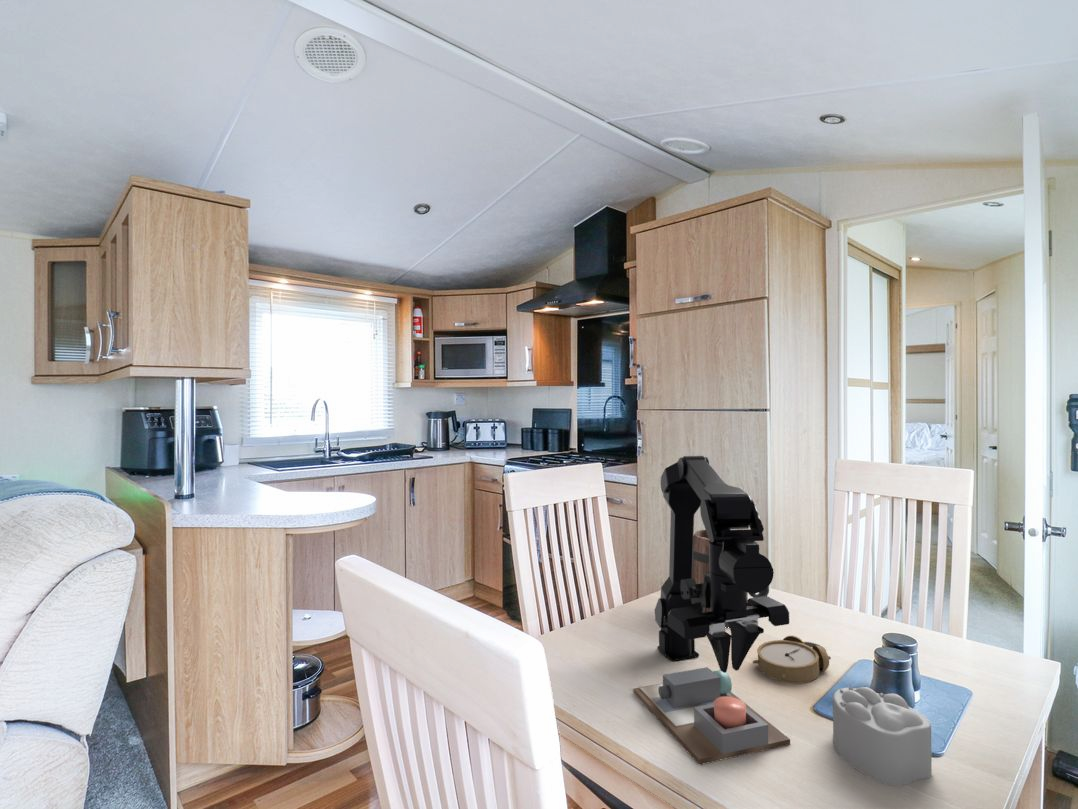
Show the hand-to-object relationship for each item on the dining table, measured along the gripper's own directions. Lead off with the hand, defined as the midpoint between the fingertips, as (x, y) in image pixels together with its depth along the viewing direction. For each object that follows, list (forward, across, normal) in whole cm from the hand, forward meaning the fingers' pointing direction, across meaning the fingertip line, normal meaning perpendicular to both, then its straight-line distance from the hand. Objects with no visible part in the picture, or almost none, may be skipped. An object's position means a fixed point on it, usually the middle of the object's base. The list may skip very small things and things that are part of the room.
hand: (729, 670), depth 93 cm
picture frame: (+11, 0, -7) cm, 13 cm away
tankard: (+11, -31, -46) cm, 57 cm away
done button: (+8, 0, 0) cm, 8 cm away
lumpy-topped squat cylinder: (+11, -18, +10) cm, 24 cm away
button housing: (+11, 0, 0) cm, 11 cm away
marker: (+10, 0, -11) cm, 15 cm away
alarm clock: (+12, -26, -17) cm, 34 cm away
